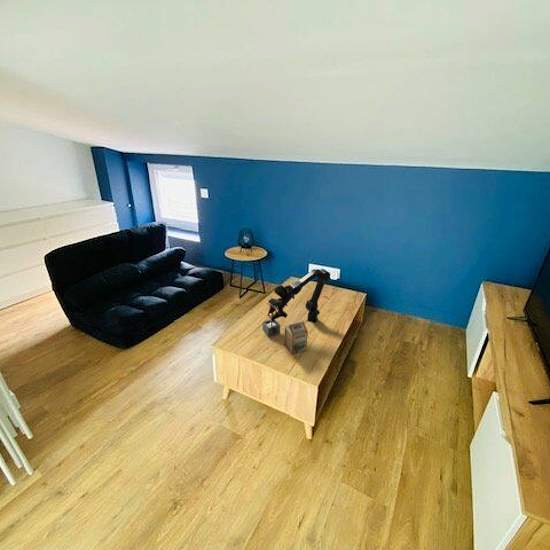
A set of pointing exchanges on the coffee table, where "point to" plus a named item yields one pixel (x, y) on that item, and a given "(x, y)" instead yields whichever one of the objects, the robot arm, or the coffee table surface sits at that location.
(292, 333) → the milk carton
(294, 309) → the coffee table surface
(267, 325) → the plunger
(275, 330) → the press
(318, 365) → the coffee table surface
